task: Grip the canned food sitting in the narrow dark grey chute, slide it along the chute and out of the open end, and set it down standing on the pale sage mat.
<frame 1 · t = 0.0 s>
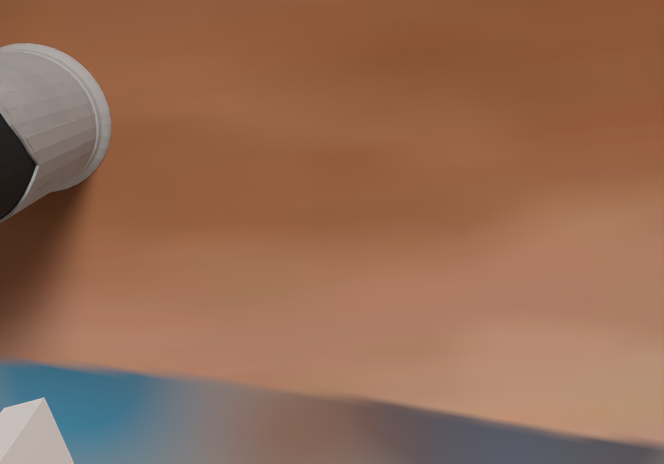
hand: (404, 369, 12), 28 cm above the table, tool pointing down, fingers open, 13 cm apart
white and black mug: (9, 153, 37), on the table
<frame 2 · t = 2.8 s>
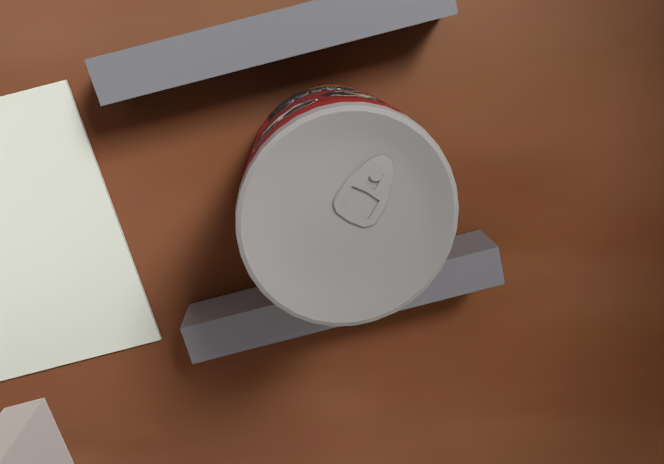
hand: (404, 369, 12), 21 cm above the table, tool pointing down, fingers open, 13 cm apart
canned food: (327, 162, 32), on the table
chute: (308, 168, 31), on the table
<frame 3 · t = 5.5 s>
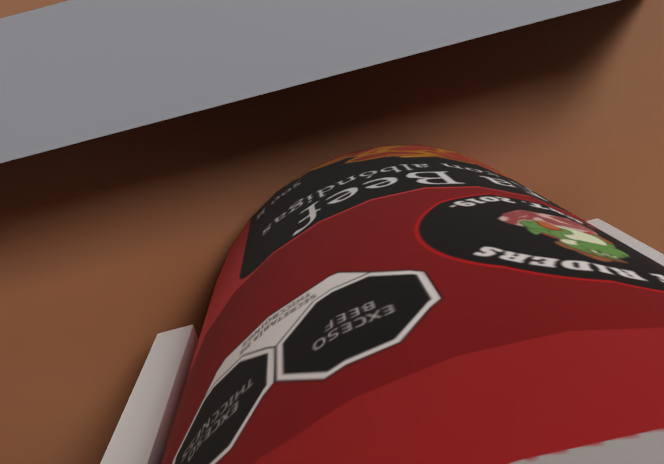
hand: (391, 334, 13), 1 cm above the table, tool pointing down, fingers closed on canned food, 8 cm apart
canned food: (381, 306, 14), on the table, touching gripper
chute: (340, 320, 14), on the table
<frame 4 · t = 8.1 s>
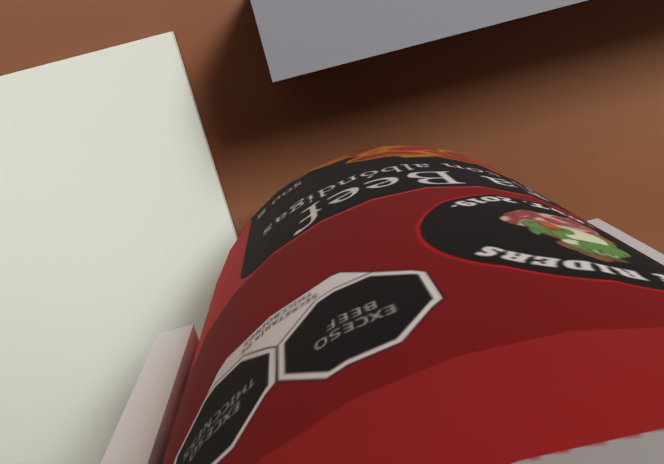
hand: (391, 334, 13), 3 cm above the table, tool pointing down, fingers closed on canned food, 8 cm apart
canned food: (382, 306, 14), point 2 cm above the table, touching gripper
chute: (627, 208, 16), on the table
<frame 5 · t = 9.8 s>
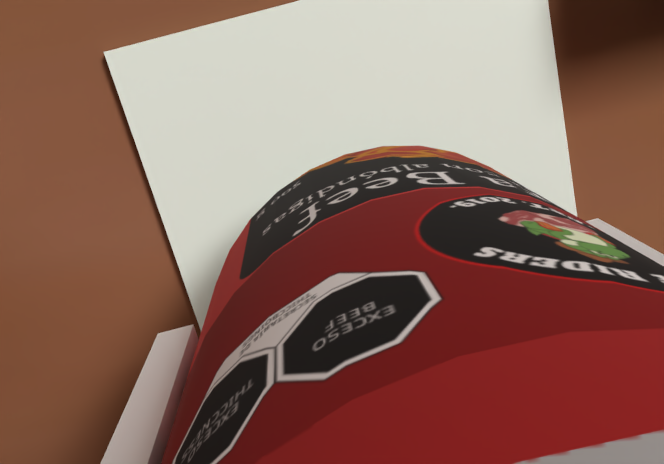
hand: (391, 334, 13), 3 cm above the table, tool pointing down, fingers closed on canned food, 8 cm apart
canned food: (381, 307, 14), point 2 cm above the table, touching gripper
when the fingers open (2 cm above the table, at t = 10.9 s): canned food stays where it is, resting on chute.
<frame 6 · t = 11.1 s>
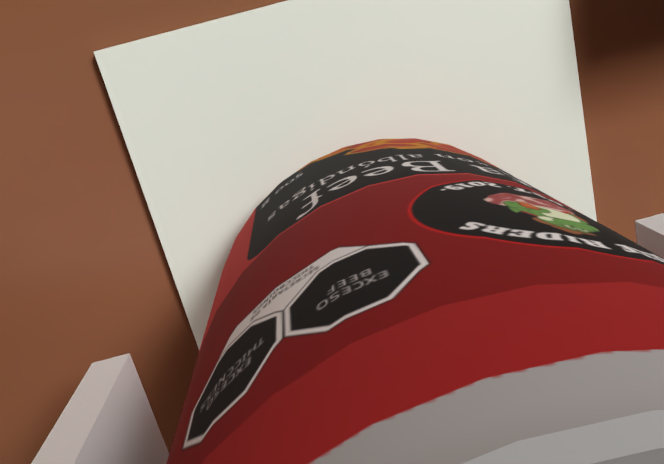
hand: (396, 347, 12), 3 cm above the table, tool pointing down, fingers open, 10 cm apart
canned food: (380, 293, 15), resting on chute
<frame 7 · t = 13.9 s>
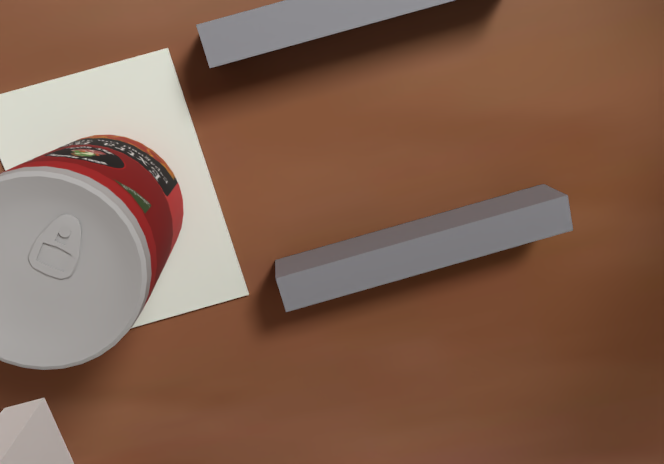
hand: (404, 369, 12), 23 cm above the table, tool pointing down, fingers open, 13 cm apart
canned food: (114, 205, 34), resting on chute
chute: (387, 128, 34), on the table
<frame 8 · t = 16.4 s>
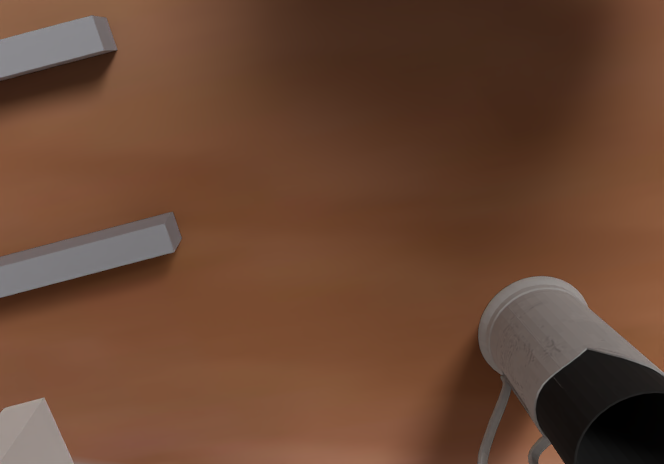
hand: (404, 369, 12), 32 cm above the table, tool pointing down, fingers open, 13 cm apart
chute: (29, 164, 41), on the table
white and black mug: (507, 352, 48), on the table
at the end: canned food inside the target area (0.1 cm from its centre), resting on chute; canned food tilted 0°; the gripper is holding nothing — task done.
